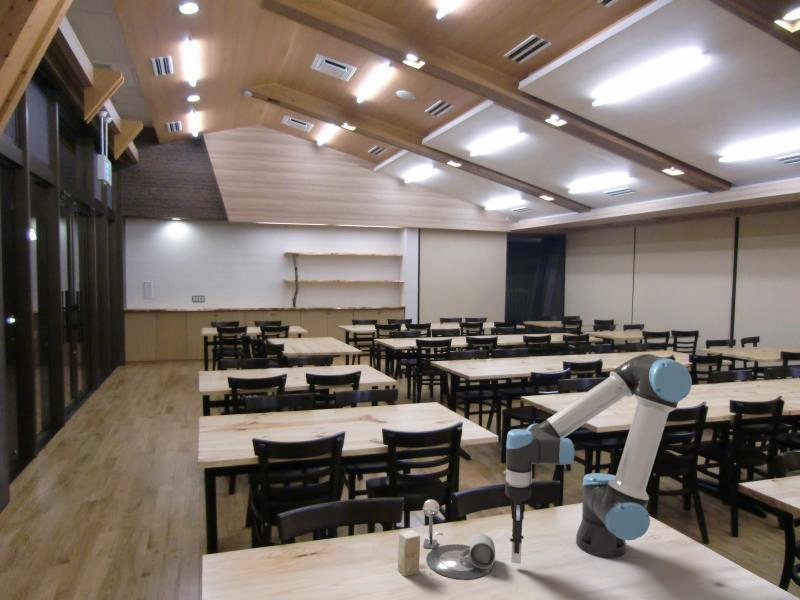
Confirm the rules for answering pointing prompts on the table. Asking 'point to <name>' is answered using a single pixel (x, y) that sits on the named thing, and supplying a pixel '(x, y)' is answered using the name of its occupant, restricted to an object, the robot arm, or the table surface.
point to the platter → (453, 563)
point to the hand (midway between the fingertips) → (516, 561)
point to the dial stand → (431, 522)
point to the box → (408, 553)
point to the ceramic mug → (480, 552)
